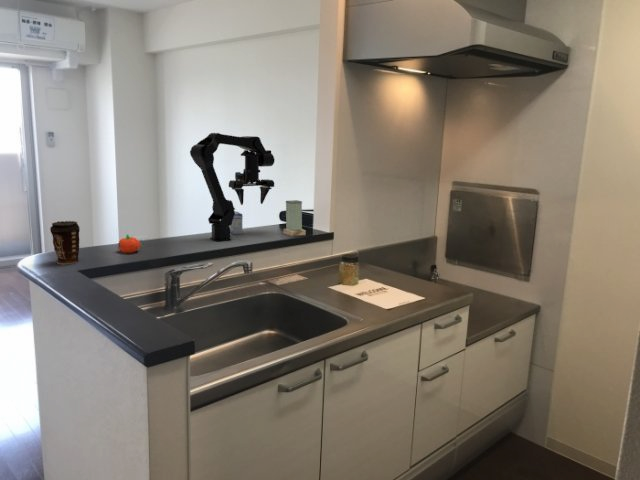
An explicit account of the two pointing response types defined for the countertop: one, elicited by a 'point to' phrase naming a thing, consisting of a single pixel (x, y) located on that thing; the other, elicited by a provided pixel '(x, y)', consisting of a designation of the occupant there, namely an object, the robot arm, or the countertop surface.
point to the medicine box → (236, 224)
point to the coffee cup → (66, 241)
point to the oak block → (294, 232)
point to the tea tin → (294, 215)
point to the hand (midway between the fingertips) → (251, 204)
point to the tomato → (128, 244)
